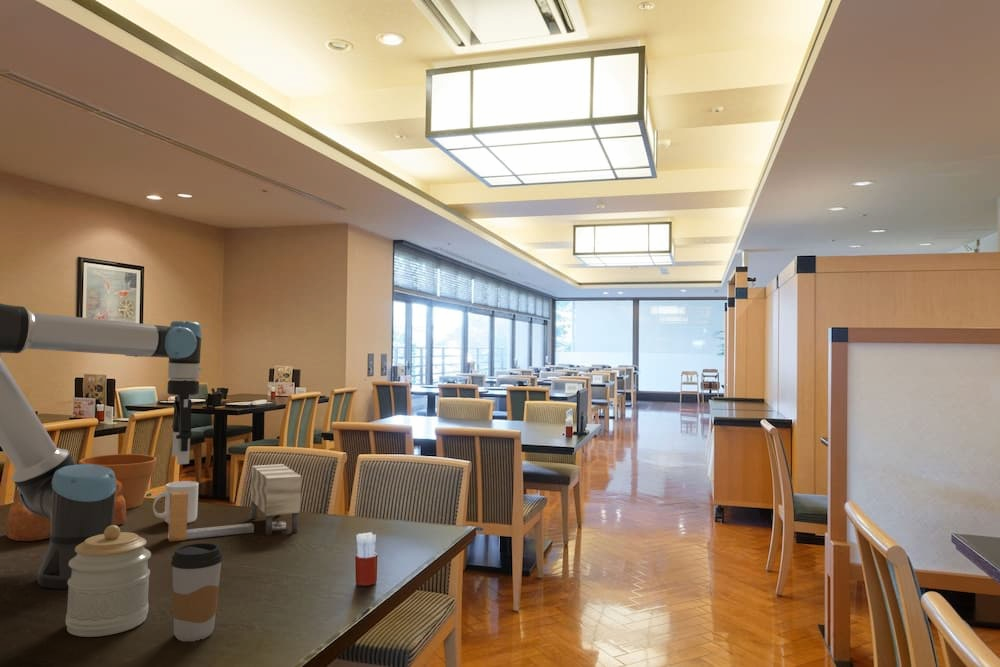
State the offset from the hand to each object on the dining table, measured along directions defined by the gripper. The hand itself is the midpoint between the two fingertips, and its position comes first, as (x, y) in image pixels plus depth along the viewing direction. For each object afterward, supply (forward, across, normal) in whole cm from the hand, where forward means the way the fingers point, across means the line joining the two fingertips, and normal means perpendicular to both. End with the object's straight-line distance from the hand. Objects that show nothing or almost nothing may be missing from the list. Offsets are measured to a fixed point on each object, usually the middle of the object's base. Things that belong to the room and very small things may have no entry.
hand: (180, 460), depth 174 cm
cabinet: (+21, +4, -26) cm, 33 cm away
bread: (+21, +22, +25) cm, 39 cm away
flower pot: (+21, +47, +13) cm, 53 cm away
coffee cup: (+21, -65, +3) cm, 68 cm away
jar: (+21, -53, +16) cm, 59 cm away
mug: (+21, +19, -1) cm, 28 cm away
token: (+21, 0, -26) cm, 33 cm away
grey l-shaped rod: (+21, 0, -9) cm, 22 cm away
